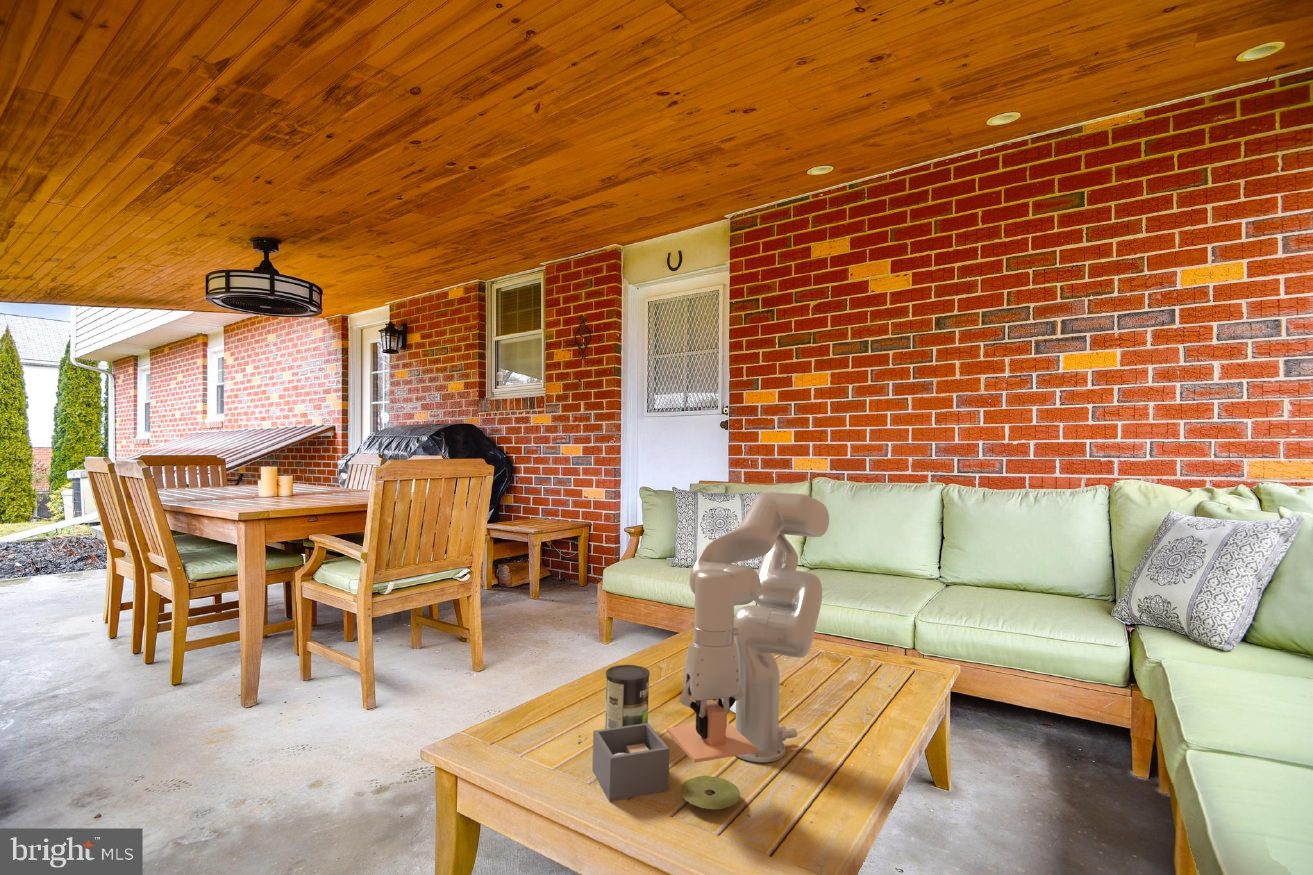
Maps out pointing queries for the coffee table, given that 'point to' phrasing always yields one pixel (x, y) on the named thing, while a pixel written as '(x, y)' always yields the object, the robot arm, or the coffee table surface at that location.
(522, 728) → the coffee table surface
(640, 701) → the coffee can
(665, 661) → the coffee table surface
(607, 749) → the storage box
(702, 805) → the green round disc
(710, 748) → the lid
